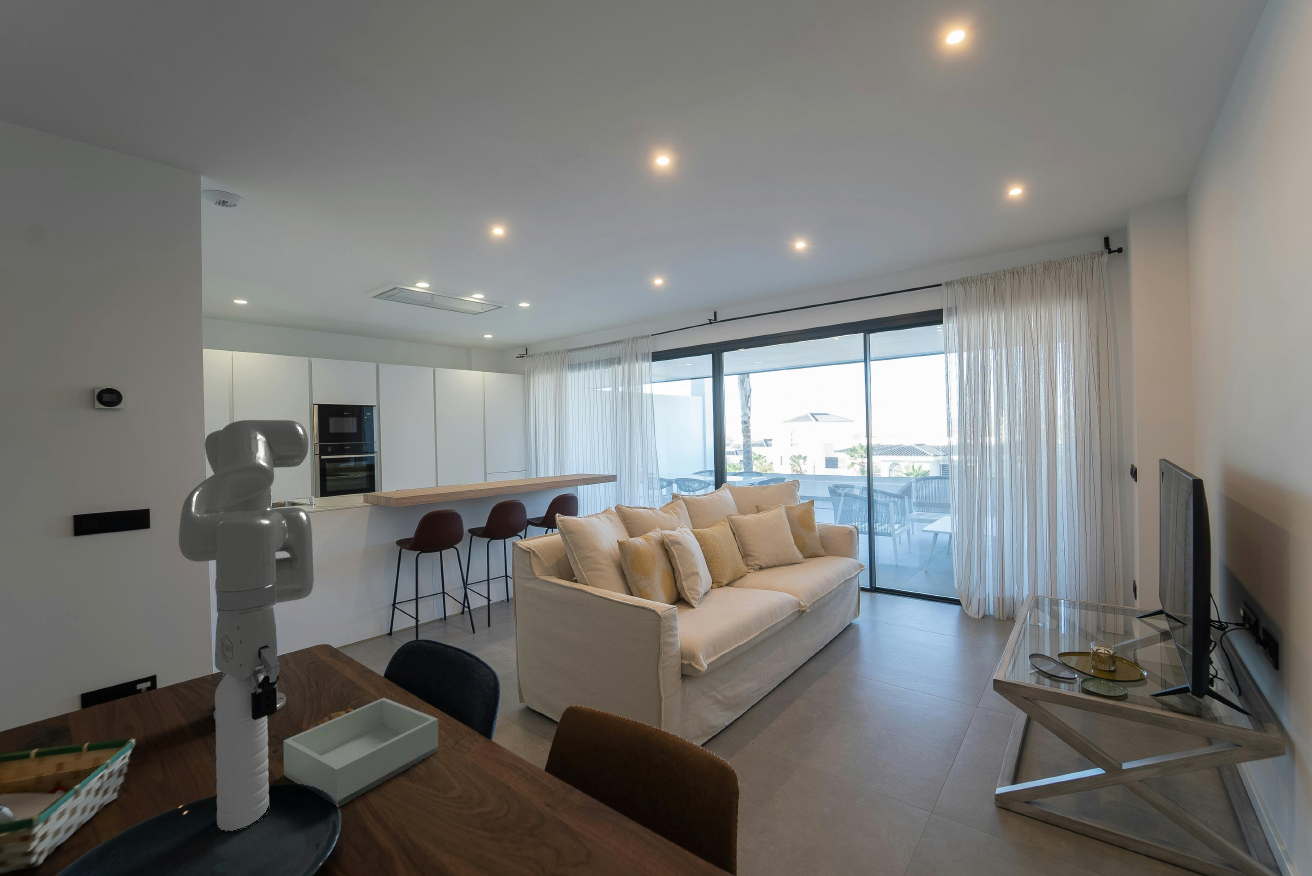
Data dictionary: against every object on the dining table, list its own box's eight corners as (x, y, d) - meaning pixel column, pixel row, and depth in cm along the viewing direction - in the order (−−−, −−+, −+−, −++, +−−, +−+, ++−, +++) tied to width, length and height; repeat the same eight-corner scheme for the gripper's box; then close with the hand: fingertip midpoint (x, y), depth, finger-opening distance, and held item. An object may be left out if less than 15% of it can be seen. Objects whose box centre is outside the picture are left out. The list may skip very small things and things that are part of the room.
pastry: (305, 750, 107) (305, 730, 107) (298, 736, 112) (298, 717, 112) (360, 732, 113) (360, 713, 113) (351, 720, 118) (351, 702, 118)
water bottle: (238, 836, 84) (235, 665, 84) (206, 827, 86) (203, 660, 86) (292, 799, 92) (289, 644, 92) (262, 792, 94) (259, 640, 94)
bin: (283, 775, 99) (283, 740, 99) (384, 727, 115) (384, 697, 115) (337, 807, 90) (336, 769, 90) (438, 751, 106) (437, 718, 106)
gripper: (194, 595, 90) (195, 704, 90) (245, 612, 81) (248, 733, 81) (248, 584, 96) (249, 686, 97) (301, 599, 87) (303, 711, 87)
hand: (249, 707), depth 89 cm, fingers open, 9 cm apart
